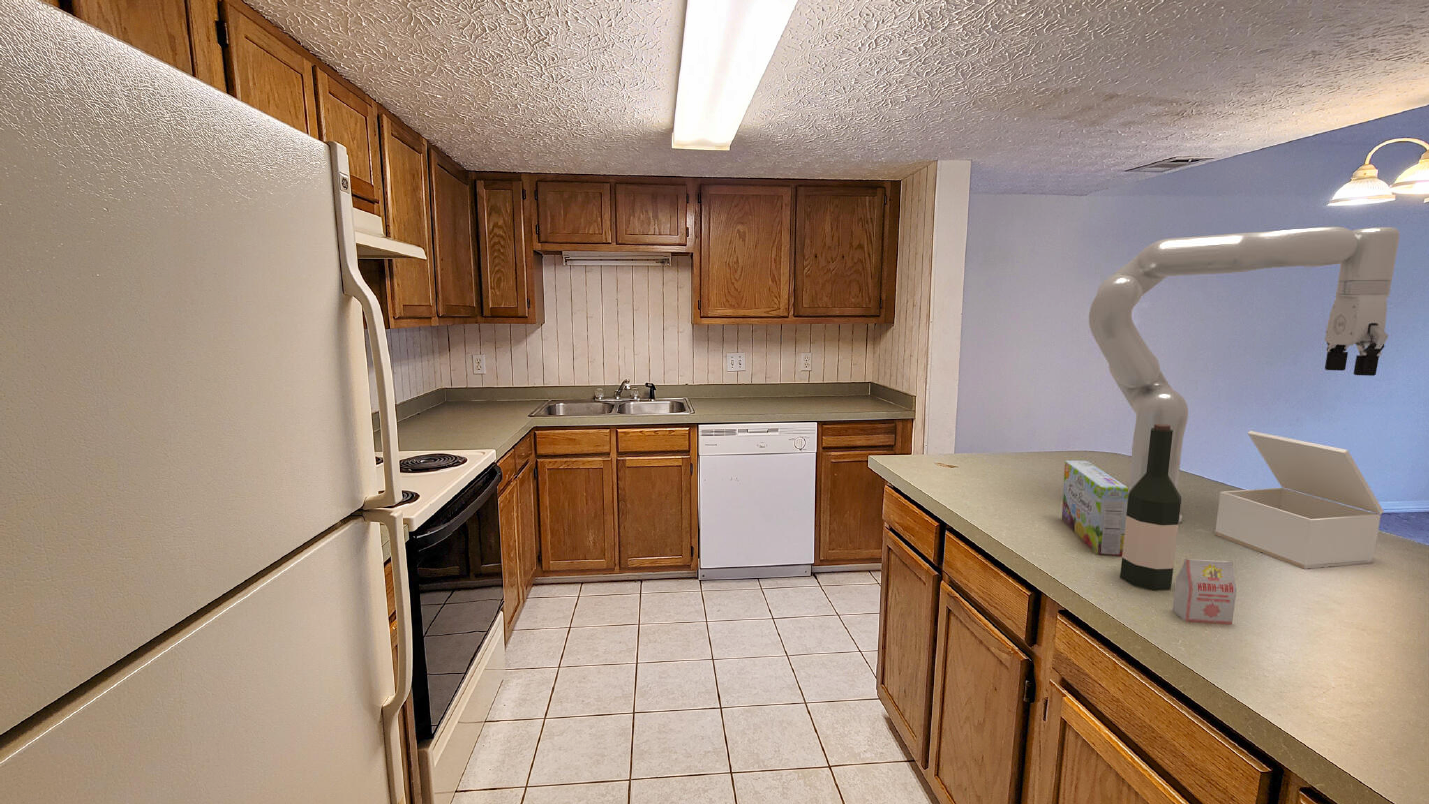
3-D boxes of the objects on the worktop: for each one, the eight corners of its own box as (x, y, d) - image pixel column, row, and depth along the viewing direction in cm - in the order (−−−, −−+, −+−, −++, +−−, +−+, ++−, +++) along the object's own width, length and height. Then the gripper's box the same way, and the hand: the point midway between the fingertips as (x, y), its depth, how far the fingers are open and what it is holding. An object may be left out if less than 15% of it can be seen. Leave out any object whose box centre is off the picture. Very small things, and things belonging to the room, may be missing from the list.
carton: (1304, 569, 116) (1311, 520, 114) (1214, 534, 133) (1220, 491, 132) (1372, 563, 118) (1380, 515, 116) (1275, 529, 135) (1281, 487, 134)
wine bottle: (1158, 595, 106) (1176, 431, 101) (1109, 576, 114) (1124, 423, 109) (1182, 584, 110) (1201, 426, 105) (1134, 567, 117) (1149, 419, 112)
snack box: (1058, 519, 144) (1063, 459, 142) (1084, 521, 143) (1089, 460, 140) (1095, 555, 123) (1101, 485, 121) (1125, 557, 122) (1132, 486, 120)
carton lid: (1344, 452, 113) (1347, 449, 113) (1247, 433, 130) (1250, 430, 130) (1380, 514, 116) (1383, 511, 116) (1281, 487, 134) (1284, 484, 134)
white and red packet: (1172, 610, 101) (1179, 554, 100) (1217, 613, 100) (1224, 557, 98) (1185, 621, 98) (1192, 564, 96) (1231, 624, 96) (1239, 566, 95)
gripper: (1314, 291, 131) (1302, 368, 134) (1366, 289, 115) (1351, 376, 118) (1359, 290, 129) (1346, 369, 131) (1418, 288, 113) (1402, 378, 115)
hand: (1349, 372), depth 125 cm, fingers open, 9 cm apart
